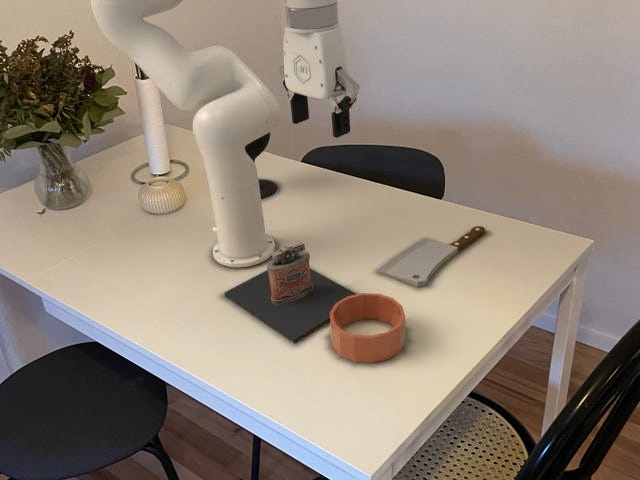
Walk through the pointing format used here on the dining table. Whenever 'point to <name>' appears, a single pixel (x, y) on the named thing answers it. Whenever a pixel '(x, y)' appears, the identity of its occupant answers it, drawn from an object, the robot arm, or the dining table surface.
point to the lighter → (289, 274)
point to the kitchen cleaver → (427, 258)
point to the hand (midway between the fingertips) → (320, 127)
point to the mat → (290, 304)
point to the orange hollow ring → (363, 345)
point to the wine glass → (254, 151)
